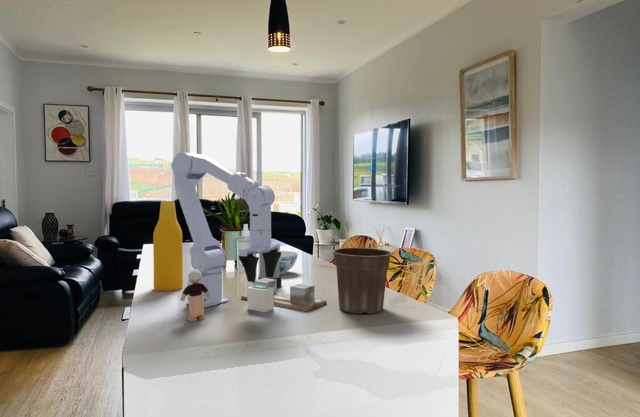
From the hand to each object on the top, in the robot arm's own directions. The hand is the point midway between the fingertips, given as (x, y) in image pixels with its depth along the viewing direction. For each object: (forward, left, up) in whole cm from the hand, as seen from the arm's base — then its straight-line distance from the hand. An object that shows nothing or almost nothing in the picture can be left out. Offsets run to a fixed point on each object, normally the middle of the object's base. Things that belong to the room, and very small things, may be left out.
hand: (260, 279), depth 125 cm
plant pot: (+16, -23, -9) cm, 29 cm away
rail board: (+10, 0, -8) cm, 13 cm away
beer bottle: (+2, +42, -8) cm, 43 cm away
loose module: (0, 0, -8) cm, 8 cm away
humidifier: (+24, +17, -8) cm, 31 cm away
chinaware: (+45, +30, -9) cm, 55 cm away
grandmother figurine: (-17, +7, -8) cm, 20 cm away
